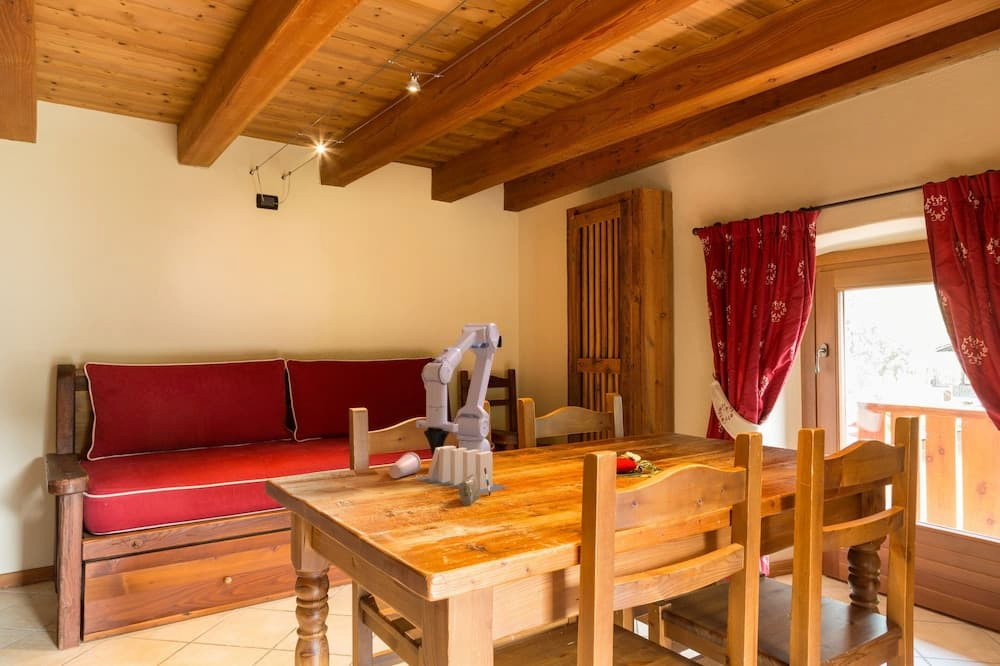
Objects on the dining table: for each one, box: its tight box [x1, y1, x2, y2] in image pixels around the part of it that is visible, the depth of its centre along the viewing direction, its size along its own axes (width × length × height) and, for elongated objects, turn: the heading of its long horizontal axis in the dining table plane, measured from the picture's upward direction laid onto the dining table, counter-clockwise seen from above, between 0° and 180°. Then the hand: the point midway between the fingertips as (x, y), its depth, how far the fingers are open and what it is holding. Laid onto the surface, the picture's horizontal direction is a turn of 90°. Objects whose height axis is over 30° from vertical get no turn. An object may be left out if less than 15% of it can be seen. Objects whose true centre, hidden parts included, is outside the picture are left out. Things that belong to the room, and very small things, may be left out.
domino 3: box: [450, 447, 467, 485], centre depth 170 cm, size 2×5×9 cm, turn 140°
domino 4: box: [463, 449, 480, 480], centre depth 167 cm, size 2×5×9 cm, turn 140°
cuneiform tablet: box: [458, 468, 492, 507], centre depth 152 cm, size 7×4×12 cm
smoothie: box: [388, 451, 422, 479], centre depth 180 cm, size 6×6×14 cm
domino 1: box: [426, 445, 449, 480], centre depth 174 cm, size 2×5×9 cm, turn 140°
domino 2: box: [438, 445, 457, 482], centre depth 172 cm, size 2×5×9 cm, turn 141°
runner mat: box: [411, 475, 508, 495], centre depth 170 cm, size 10×26×1 cm, turn 50°
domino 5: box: [476, 450, 494, 490], centre depth 164 cm, size 2×5×9 cm, turn 140°
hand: (436, 455), depth 175 cm, fingers closed
